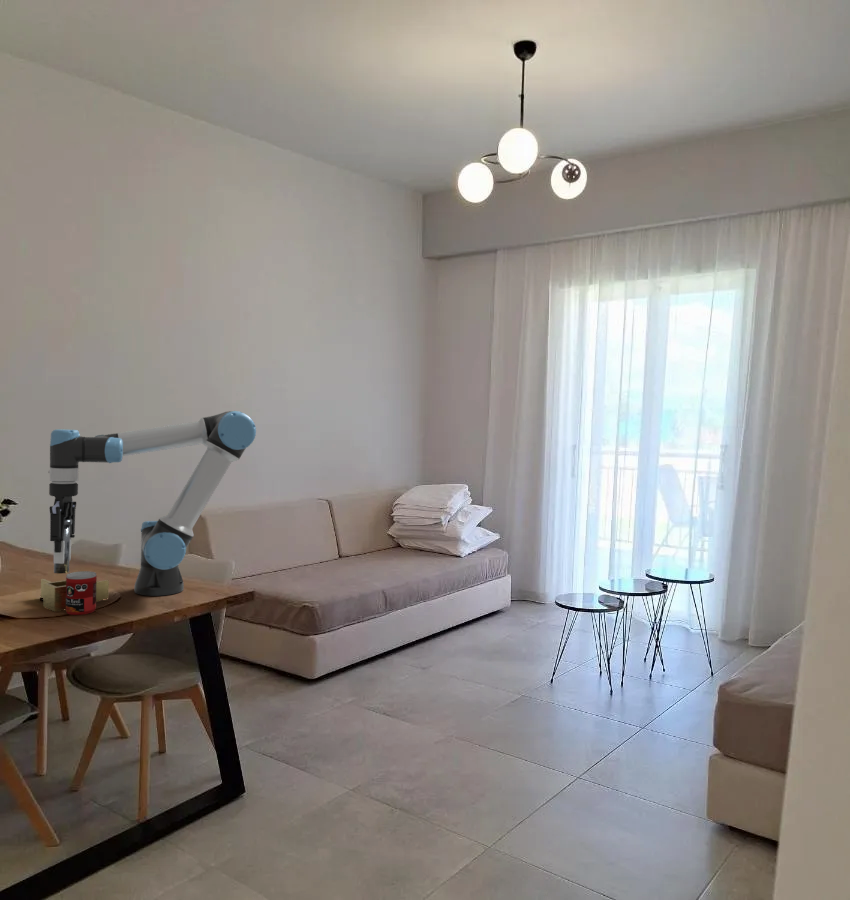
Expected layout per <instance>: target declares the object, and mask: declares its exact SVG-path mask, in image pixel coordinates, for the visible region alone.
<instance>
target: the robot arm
mask: <svg viewBox="0 0 850 900" xmlns="http://www.w3.org/2000/svg"><path fill="white" fill-rule="evenodd" d="M256 434H257V427H256V424H255V422H254V421H253V419H252V418H251V417H250V416H249V415H248V414H247V413H244V412H242V411H239V410H234V411H232V410H228V411H224V412H221V413H218V414H214V415H211V416H205V417H200V419H199V420H198V421H193V422H185V423H184V422H183V423H180V424H179V423H178V424H171V425H165V426H164V425H163V426H156V427H150V428H144V429H135V430H130V431H123V432H117V433H110V434H98V435H95V436H81V434H80V432H79V430H77V429H67V428H65V429H64V428H63V429H61V428H59V429H53V430H52V431H51V433H50V444H49V470H48V474H49V481H50V483H49V486H48V487H49V488H48V489H49V490H48V493H49V494H48V495H49V496H51V497H54V501H53V506H51V505H50V506H49V515H50V518H49V521H50V522H49V523H50V525H49V527H50V529H49V530H50V531H49V533H50V535H49V536H50V537H49V541H51V542H53V564H54V563H60V564H63V563H64V549H65V541H63V536H64V527H65V526H64V521H65V519H72V525H70V555H69V561H71V556H72V539H74V538H75V536H76V535H75V532H76V531H75V530H76V527H75V526H76V509H77V501H73V497H76V496H78V494H79V484H78V483H77V482H78V481H79V463H108V464H112V463H114V464H115V463H121V462H122V461H123V457H126V456H133V455H140V454H145V453H152V452H161V451H166V450H173V449H177V448H186V447H192V446H197V445H203V446H205V447H206V450H205V452H204V453H203V455H202V456H201V458H200V460H199V462H198V464H197V465H196V467H195V469H194V470H193V472H192V474H191V475H190V477H189V478H188V480H187V482H186V484H185V485H184V486H183V489H182V490H181V491H180V494H179V495H178V497H177V499H176V500H175V501H174V503H173V504H172V507H171V508H170V510H169V512H168V513H167V514H166V515H164V516H161V517H159V518H158V520H145V521H143V522H142V524H141V528H140V533H141V536H140V537H141V539H140V540H141V541H140V542H141V543H140V568H139V572H138V573H137V578H136V580H135V582H134V591H133V592H134V594H136V595H137V594H138V595H141V596H147V597H148V596H153V597H155V596H156V597H157V596H158V597H159V596H170V595H174V594H175V595H176V594H179V593H182V592H183V591H184V583H185V582H184V580H183V577H182V574H181V570H180V567H179V566H180V564H181V562H182V561H183V560H184V558H185V555H186V552H187V548H188V546H189V545H190V543H191V541H192V539H193V538H194V536H195V534H194V531H193V528H194V527H195V525H196V523H197V522H198V520H199V518H200V516H201V514H202V513H203V511H204V510H205V508H206V506H207V505H208V502H209V501H210V499H211V498H212V496H213V494H214V493H215V491H216V490H217V488H218V486H219V485H220V483H221V481H222V480H223V478H224V477H225V474H226V473H227V472H228V469H229V468H230V466H231V464H232V463H234V462H235V461H236V462H237V461H239V460H240V458H241V457H242V455H243V453H244V452H245V451H246V449H247V448H249V447H250V446H251V444H253V442H254V441H255V439H256V436H257V435H256Z"/></svg>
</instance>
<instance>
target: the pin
mask: <svg viewBox="0 0 850 900" xmlns="http://www.w3.org/2000/svg"><path fill="white" fill-rule="evenodd" d="M70 525H72V519H65V521H64V526H65V527H64V536H63V541H65V549H64V563H63V564H60V563H53V573H54V574H69V573H70V560H69V555H70Z"/></svg>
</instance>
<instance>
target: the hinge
mask: <svg viewBox="0 0 850 900" xmlns="http://www.w3.org/2000/svg"><path fill="white" fill-rule="evenodd" d="M109 583H110V581H109V580H108V579H105V580H99V581H98V580H97V581H96V601H97V602H100V601H99V600H103V599H107V598H108V599H109ZM41 598H43V599H42V600H43V601H42V602H43V603H42V605H43V606H44V607H43V606H42V607H43V608H45V607H46V608H45V609H47V608H48V609H47V610H49V609H50V610H49V611H51V610H52V611H51V612H53V611H54V613H56V612H55V611H58V612H61V611H60V610H63V611H65V610H64V609H66V579H64V580H57V581H51V580H47V579H46V578H41V579H40V599H41ZM103 601H104V600H103Z"/></svg>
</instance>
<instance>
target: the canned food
mask: <svg viewBox="0 0 850 900" xmlns="http://www.w3.org/2000/svg"><path fill="white" fill-rule="evenodd" d="M97 577H98V576H97V572H95V571H89V570H87V571H86V570H85V571H73V572H68V573H66V576H65V580H66V610H65V611H66V614H68V615H71V616H81V615H82V616H83V615H84V616H85V615H88V614H89V615H90V614H92V613H94V612H95V611H96V608H97V602H96V582H97V581H98V580H97V579H98V578H97Z"/></svg>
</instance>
